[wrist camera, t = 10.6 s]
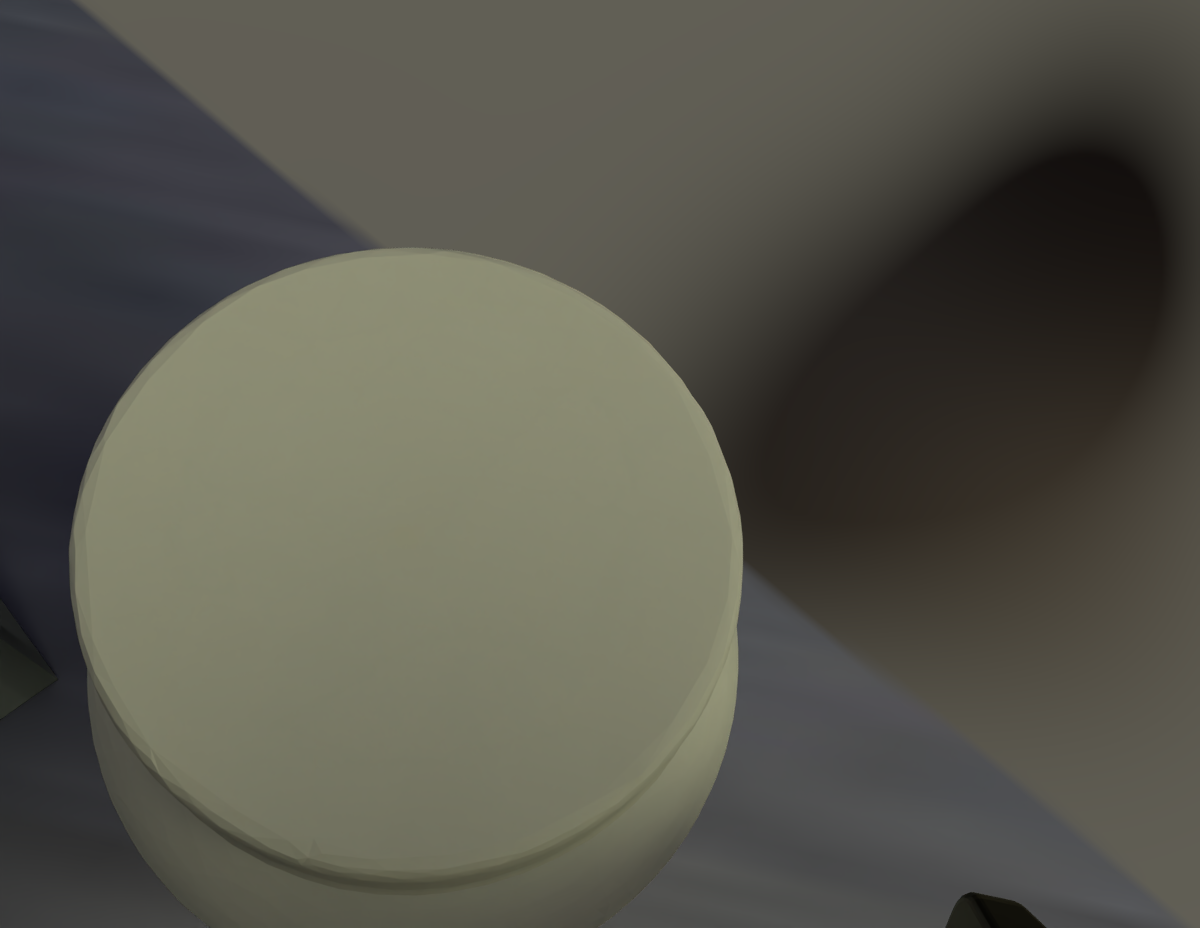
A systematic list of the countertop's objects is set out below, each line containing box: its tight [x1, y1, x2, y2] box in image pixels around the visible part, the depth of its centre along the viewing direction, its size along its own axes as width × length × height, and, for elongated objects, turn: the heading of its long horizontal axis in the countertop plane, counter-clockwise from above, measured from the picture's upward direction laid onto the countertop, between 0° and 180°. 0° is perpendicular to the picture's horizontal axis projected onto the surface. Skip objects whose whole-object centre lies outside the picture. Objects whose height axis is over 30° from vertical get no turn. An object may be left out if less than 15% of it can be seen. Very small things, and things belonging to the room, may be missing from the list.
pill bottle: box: [69, 248, 743, 928], centre depth 13 cm, size 6×6×11 cm
